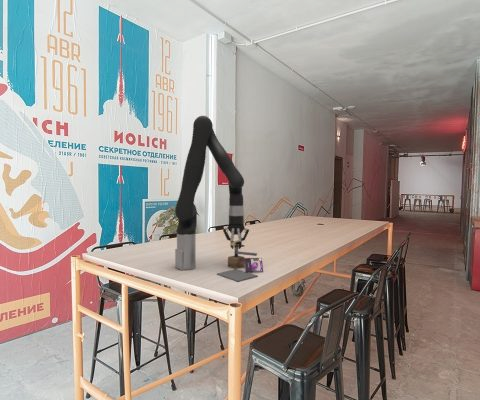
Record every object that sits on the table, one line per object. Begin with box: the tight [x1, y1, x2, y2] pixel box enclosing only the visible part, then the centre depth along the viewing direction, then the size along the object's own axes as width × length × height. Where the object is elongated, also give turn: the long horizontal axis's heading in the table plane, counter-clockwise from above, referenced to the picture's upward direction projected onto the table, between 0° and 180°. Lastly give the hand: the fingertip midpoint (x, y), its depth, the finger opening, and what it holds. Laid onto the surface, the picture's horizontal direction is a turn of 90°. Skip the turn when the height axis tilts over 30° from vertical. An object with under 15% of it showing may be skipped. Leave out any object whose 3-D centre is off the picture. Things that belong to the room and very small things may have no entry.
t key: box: [230, 239, 258, 257], centre depth 161 cm, size 8×12×8 cm, turn 66°
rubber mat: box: [216, 268, 258, 283], centre depth 147 cm, size 12×15×1 cm
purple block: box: [244, 257, 264, 273], centre depth 154 cm, size 7×5×9 cm
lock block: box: [227, 255, 246, 270], centre depth 163 cm, size 6×6×5 cm
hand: (236, 248), depth 162 cm, fingers closed on t key, 3 cm apart
